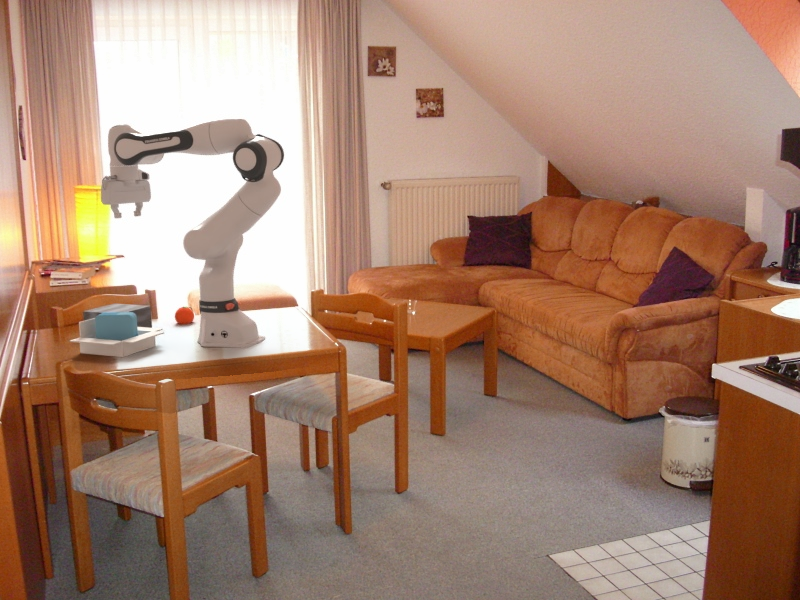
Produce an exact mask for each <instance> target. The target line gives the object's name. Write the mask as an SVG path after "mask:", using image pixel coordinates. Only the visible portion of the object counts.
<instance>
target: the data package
mask: <svg viewBox="0 0 800 600" xmlns="http://www.w3.org/2000/svg"><path fill="white" fill-rule="evenodd" d="M95 328H96V339H105V340H117V341H123V340H126V339H129V338H132V337H136V336H138V329H137V316H136V314H135V313H133V312H112V313H101V314H99V315H98V316H96V317H95Z"/></svg>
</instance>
